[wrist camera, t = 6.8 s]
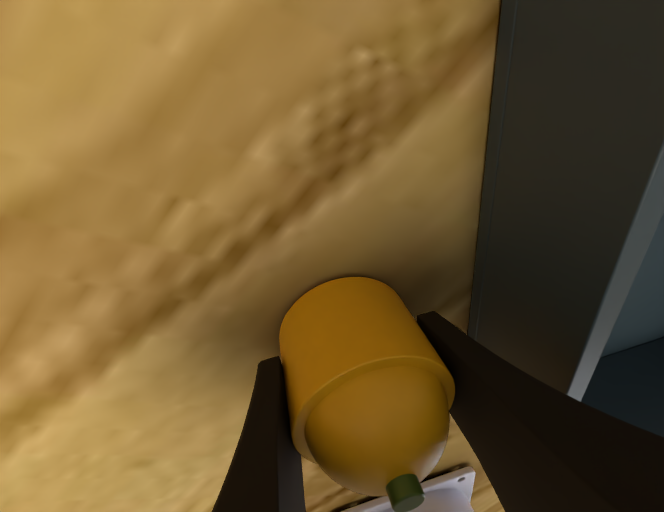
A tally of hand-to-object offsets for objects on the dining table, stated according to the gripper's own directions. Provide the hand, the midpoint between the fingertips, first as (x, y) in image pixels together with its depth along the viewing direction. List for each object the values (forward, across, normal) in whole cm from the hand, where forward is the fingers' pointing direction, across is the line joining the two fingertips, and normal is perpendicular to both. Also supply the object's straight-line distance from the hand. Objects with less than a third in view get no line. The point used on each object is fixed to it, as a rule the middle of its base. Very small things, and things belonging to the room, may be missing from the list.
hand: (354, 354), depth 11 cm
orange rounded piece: (+1, 0, 0) cm, 1 cm away
